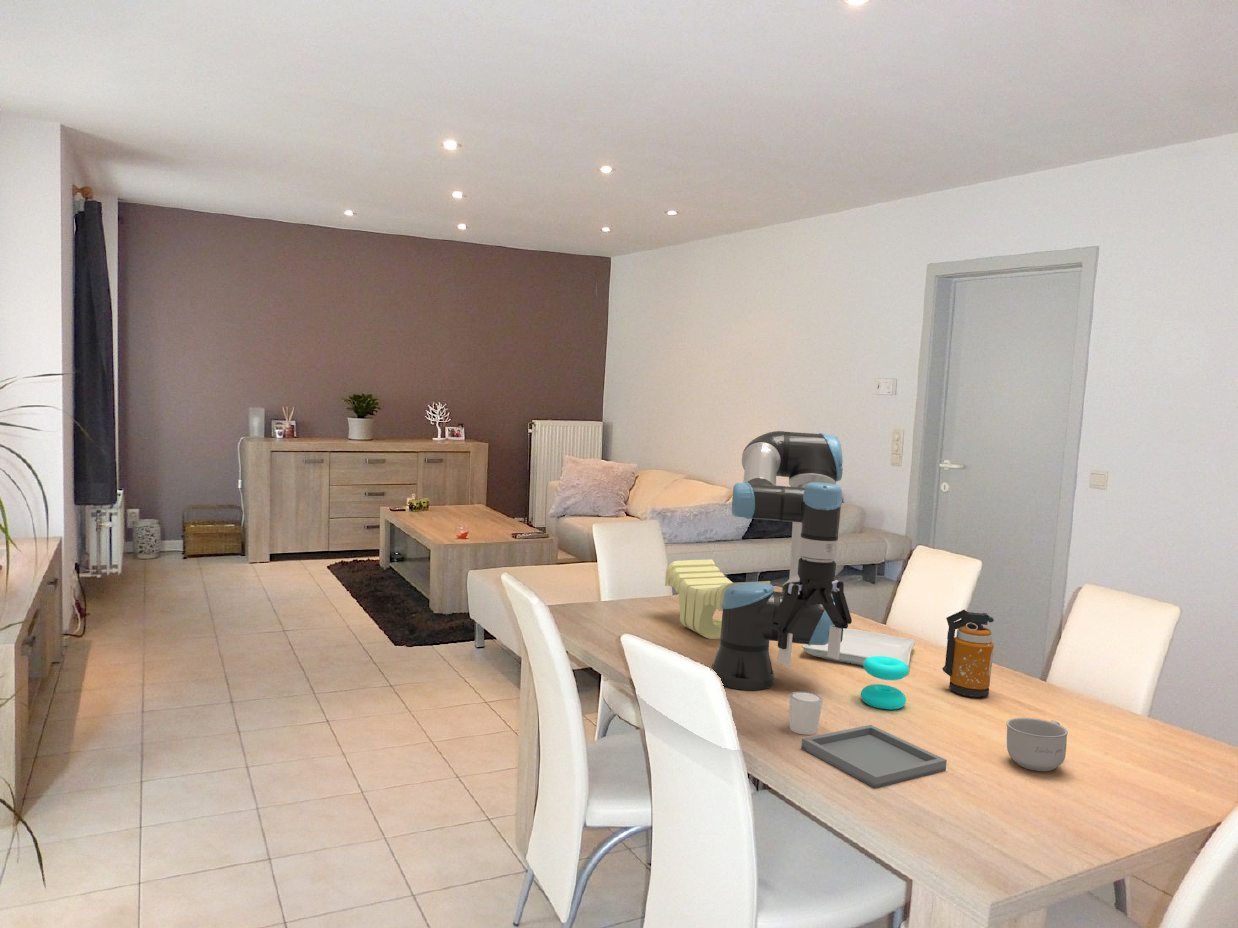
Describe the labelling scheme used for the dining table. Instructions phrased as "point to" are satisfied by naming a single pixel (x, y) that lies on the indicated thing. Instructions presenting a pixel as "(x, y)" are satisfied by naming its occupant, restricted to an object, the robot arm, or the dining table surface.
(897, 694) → the donuts
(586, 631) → the dining table surface
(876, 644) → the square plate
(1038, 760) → the teacup
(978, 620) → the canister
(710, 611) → the slatted curved stool
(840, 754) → the tray
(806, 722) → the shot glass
